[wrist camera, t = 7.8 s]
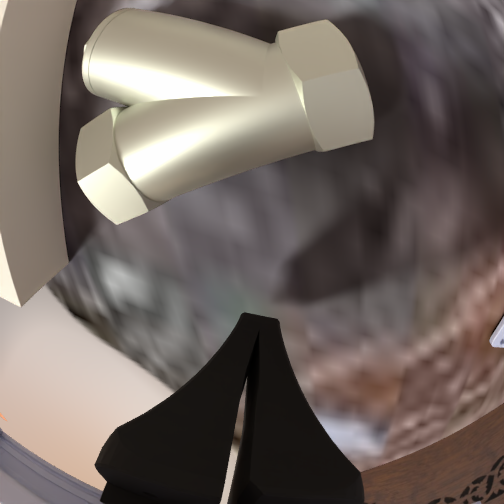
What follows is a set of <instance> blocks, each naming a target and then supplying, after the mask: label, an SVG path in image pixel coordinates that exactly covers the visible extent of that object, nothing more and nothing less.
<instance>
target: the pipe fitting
mask: <svg viewBox="0 0 504 504" xmlns="http://www.w3.org/2000/svg"><path fill="white" fill-rule="evenodd" d="M82 76H83V81H84V84H85V86H86V87H87V89H88V90H89V91H90V92H91V93H92V94H94V95H96V96H99V97H102V98H105V99H108V100H111V101H114V102H117V103H120V104H123V105H125V106H128V107H116V108H110V109H108V110H107V111H105V112H104V113H102V114H101V115H99V116H98V117H96V118H95V119H93V120H92V121H90V122H89V123H88V124H86V125H85V126H83V127H82V128H81V130H80V134H79V138H78V142H77V149H76V176H77V182H78V184H79V185H80V187H81V189H82V190H83V192H84V194H85V195H86V196H87V198H88V199H89V200H90V201H91V203H92V204H93V205H94V206H95V207H96V208H97V209H98V210H99V211H100V212H101V213H102V214H103V215H104V216H106V217H107V218H108V219H109V220H111V221H112V222H114V223H115V224H116V225H118V224H120V223H123V222H125V221H127V220H130V219H132V218H134V217H137V216H139V215H142V214H144V213H146V212H149V211H151V210H153V209H154V208H156V207H158V206H160V205H162V204H164V203H165V202H167V201H169V200H170V199H172V198H174V197H176V196H179V195H182V194H184V193H187V192H189V191H192V190H195V189H197V188H200V187H203V186H206V185H208V184H211V183H214V182H217V181H219V180H222V179H225V178H228V177H231V176H234V175H237V174H239V173H242V172H245V171H248V170H251V169H254V168H257V167H260V166H264V165H267V164H270V163H273V162H276V161H279V160H283V159H286V158H289V157H292V156H296V155H299V154H303V153H306V152H309V151H313V150H316V151H317V152H325V151H329V150H332V149H336V148H340V147H344V146H348V145H351V144H355V143H359V142H363V141H367V140H371V139H373V133H374V111H373V104H372V99H371V95H370V91H369V87H368V84H367V81H366V78H365V75H364V72H363V69H362V67H361V65H360V62H359V60H358V58H357V56H356V54H355V52H354V50H353V48H352V46H351V45H350V43H349V41H348V40H347V39H346V37H345V36H344V35H343V33H342V32H341V31H340V30H339V29H338V28H337V27H336V26H334V25H333V24H332V23H331V22H329V21H328V20H327V19H326V20H321V21H317V22H312V23H308V24H304V25H300V26H296V27H292V28H289V29H285V30H282V31H278V33H277V35H276V39H275V43H272V44H269V43H267V42H264V41H261V40H259V39H256V38H253V37H250V36H247V35H245V34H242V33H239V32H236V31H232V30H229V29H226V28H223V27H219V26H216V25H212V24H209V23H205V22H201V21H197V20H193V19H189V18H184V17H180V16H175V15H170V14H165V13H160V12H154V11H148V10H142V9H135V8H125V9H121V10H118V11H116V12H114V13H112V14H111V15H109V16H108V17H107V18H106V19H104V20H103V21H102V22H101V23H100V24H99V26H98V27H97V28H96V29H95V31H94V32H93V34H92V36H91V37H90V39H89V40H88V41H87V42H86V44H85V47H84V55H83V61H82Z"/></svg>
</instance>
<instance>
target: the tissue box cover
mask: <svg viewBox="0 0 504 504" xmlns="http://www.w3.org/2000/svg"><path fill="white" fill-rule="evenodd" d="M360 473H361V477H362V481H363V486H364V497H365V501H364V503H363V504H473V503H475V502H478V501H481V504H504V403H503V404H502V405H500V406H499V407H497V408H496V409H494V410H493V411H491V412H489V413H488V414H486V415H485V416H483V417H482V418H480V419H478V420H477V421H475V422H473V423H472V424H470V425H468V426H466V427H465V428H463V429H461V430H459V431H457V432H455V433H454V434H452V435H450V436H448V437H446V438H444V439H442V440H440V441H438V442H436V443H434V444H432V445H430V446H427V447H425V448H423V449H421V450H419V451H416V452H414V453H412V454H409V455H407V456H404V457H402V458H399V459H397V460H394V461H392V462H389V463H386V464H384V465H381V466H378V467H375V468H372V469H369V470H366V471H363V472H360Z"/></svg>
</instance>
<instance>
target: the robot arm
mask: <svg viewBox="0 0 504 504" xmlns="http://www.w3.org/2000/svg"><path fill="white" fill-rule="evenodd" d="M490 343H491V345H492V346H493V347H504V317H503V318H502V320H501V322H500V323H499V325H498V326H497V328H496V330H495V331H494V333H493V334H492V336H491V338H490ZM246 379H247V386H246V398H245V410H244V421H243V430H242V436H241V441H240V446H239V451H238V456H237V461H236V466H235V471H234V476H233V480H232V485H231V489H230V494H229V498H228V502H227V504H363V503H364V501H365V497H364V486H363V481H362V477H361V473H360V471H359V470H358V469H357V468H356V467H355V466H354V465H353V464H352V463H351V462H350V461H349V460H348V459H347V458H346V456H345V455H344V454H343V453H342V452H341V451H340V449H339V448H338V447H337V446H336V444H335V443H334V442H333V441H332V439H331V438H330V437H329V435H328V434H327V432H326V431H325V429H324V428H323V426H322V425H321V424H320V422H319V421H318V419H317V418H316V416H315V414H314V413H313V411H312V409H311V407H310V406H309V404H308V402H307V400H306V398H305V396H304V394H303V392H302V390H301V388H300V386H299V384H298V381H297V379H296V377H295V374H294V372H293V369H292V367H291V364H290V361H289V358H288V355H287V352H286V349H285V346H284V342H283V338H282V334H281V329H280V322H279V321H278V319H275V318H270V317H265V316H260V315H255V314H250V313H245V312H244V313H242V314H241V316H240V318H239V320H238V322H237V324H236V326H235V328H234V329H233V331H232V332H231V334H230V335H229V337H228V338H227V339H226V341H225V342H224V343H223V345H222V346H221V348H220V349H219V350H218V351H217V352H216V354H215V355H214V356H213V357H212V358H211V359H210V360H209V361H208V363H207V364H206V365H205V366H204V367H203V368H202V369H201V370H200V371H199V372H198V373H197V374H196V375H195V376H194V377H193V378H191V379H190V380H189V381H188V382H187V383H186V384H185V385H183V386H182V387H181V388H180V389H179V390H177V391H176V392H175V393H174V394H172V395H171V396H170V397H168V398H167V399H166V400H164V401H162V402H161V403H159V404H158V405H156V406H155V407H153V408H152V409H150V410H149V411H147V412H146V413H144V414H142V415H140V416H139V417H137V418H135V419H133V420H131V421H129V422H127V423H125V424H123V425H121V426H119V427H117V429H115V431H114V432H113V433H112V434H111V435H110V437H109V438H108V440H107V441H106V443H105V444H104V446H103V447H102V449H101V451H100V454H99V456H98V458H97V461H96V463H95V467H96V469H97V471H98V472H99V473H100V474H101V475H102V476H103V478H104V479H105V480H106V481H107V483H106V486H105V488H104V491H101V490H99V489H97V488H95V487H93V486H90V485H88V484H86V483H84V482H82V481H80V480H78V479H76V478H74V477H73V476H71V475H69V474H67V473H65V472H63V471H62V470H60V469H58V468H56V467H55V466H53V465H51V464H50V463H48V462H46V461H45V460H43V459H41V458H40V457H38V456H37V455H35V454H34V453H32V452H31V451H29V450H28V449H26V448H25V447H23V446H22V445H20V444H19V443H18V442H16V441H15V440H14V439H12V438H11V437H10V436H8V435H7V434H6V433H4V432H3V431H2V429H1V428H0V503H1V504H220V502H221V498H222V493H223V489H224V484H225V479H226V473H227V468H228V462H229V457H230V451H231V445H232V440H233V434H234V429H235V424H236V418H237V413H238V407H239V402H240V398H241V395H242V392H243V389H244V385H245V382H246ZM473 504H481V501H478V502H475V503H473Z"/></svg>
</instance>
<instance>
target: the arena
mask: <svg viewBox="0 0 504 504" xmlns="http://www.w3.org/2000/svg"><path fill="white" fill-rule="evenodd" d="M76 2H77V0H0V297H2V298H4V299H5V300H7V301H10V302H11V303H13V304H15V305H17V306H19V307H22V306H23V305H24V304H25V303H26V302H27V301H28V300H29V299H30V298H31V297H32V296H33V295H34V294H35V293H36V292H37V291H39V290H40V289H41V288H42V287H43V286H44V285H45V284H46V283H47V282H48V281H49V280H51V279H52V278H53V277H54V276H55V275H56V274H57V273H58V272H59V271H61V270H62V269H63V268H64V267H65V266H66V265H67V264H68V263H69V260H68V254H67V248H66V241H65V234H64V226H63V217H62V207H61V195H60V179H59V114H60V98H61V87H62V77H63V69H64V62H65V55H66V49H67V43H68V37H69V32H70V27H71V22H72V18H73V14H74V9H75V5H76Z"/></svg>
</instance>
